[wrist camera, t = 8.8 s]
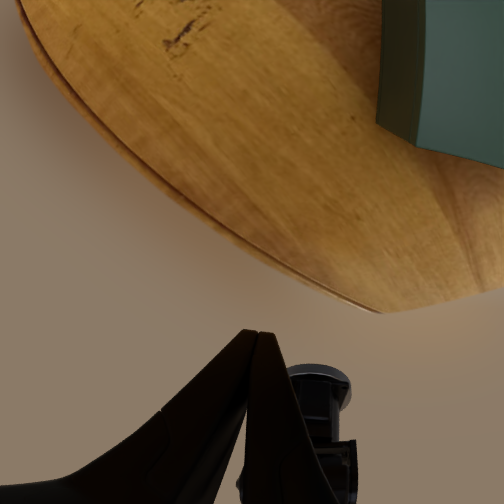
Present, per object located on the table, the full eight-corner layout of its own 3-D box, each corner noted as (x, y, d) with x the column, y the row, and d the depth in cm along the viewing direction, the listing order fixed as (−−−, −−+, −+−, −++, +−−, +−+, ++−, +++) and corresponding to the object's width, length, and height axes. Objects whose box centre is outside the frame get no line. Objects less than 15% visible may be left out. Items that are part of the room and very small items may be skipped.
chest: (379, -60, 10) (404, -111, 5) (521, -7, 9) (579, -21, 3) (375, 123, 17) (408, 143, 11) (514, 158, 15) (575, 192, 9)
